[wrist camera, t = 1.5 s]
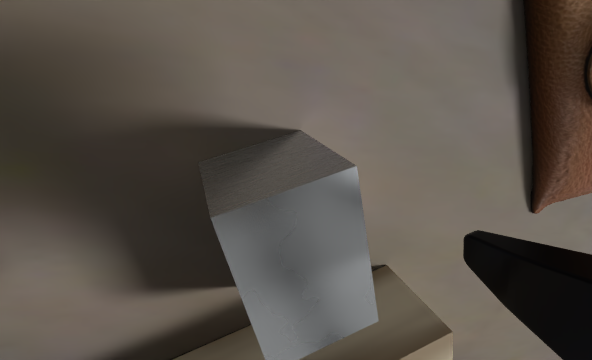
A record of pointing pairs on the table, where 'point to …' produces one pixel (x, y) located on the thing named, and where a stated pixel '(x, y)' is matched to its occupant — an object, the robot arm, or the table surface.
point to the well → (361, 332)
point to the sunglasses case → (560, 98)
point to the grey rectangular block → (293, 242)
